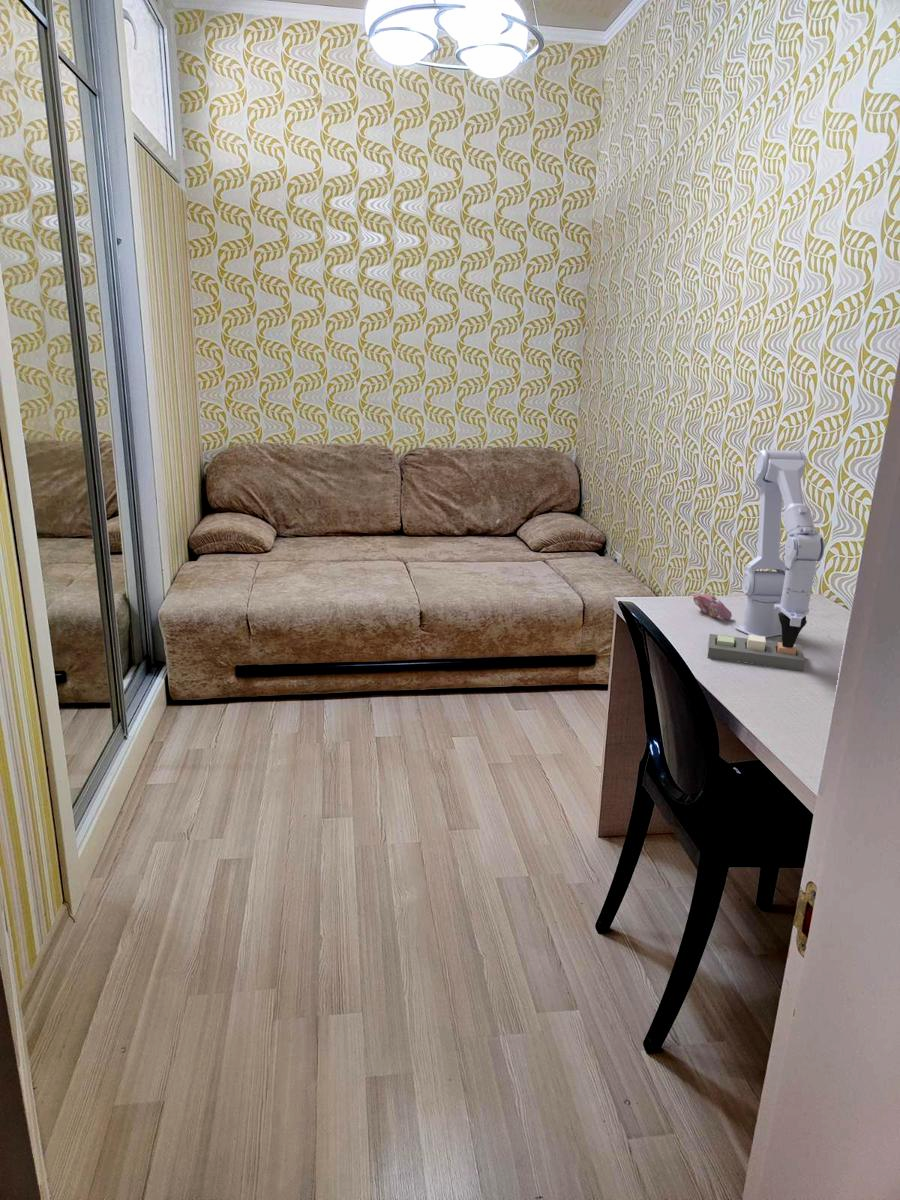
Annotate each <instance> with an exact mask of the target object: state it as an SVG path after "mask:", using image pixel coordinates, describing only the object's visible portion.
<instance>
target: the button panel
mask: <svg viewBox="0 0 900 1200" xmlns="http://www.w3.org/2000/svg"><path fill="white" fill-rule="evenodd" d="M718 635H719V634H713V633H709V637H708V644H707V645H708V646H707V647H708V648H707V659H714V660H722V661H727V660H729V662H735V661H740V662H739V663H742V662H747V663H746V664H749V663H753V664H752V665H756V664H759V665H758V666H764V665H766V667H771V666H773V667H772V668H779V669H780V668H781V669H786V670H795V671H801V672H804V669H805V664H806V659H805V653H804V650H803V645H801V644H795V645H796V649H797V651H796V655H789V654H782V653H776V652H777V647H778V642H776V641H770V640H766V644H765V650H764V651H759V650H752V649H747V648H746V646H747V640H748V638H746V637H745V638H744V637H738V636H733V637H734V647H729V646H721V645H716V644H717V637H718ZM720 635H721V636H724V634H723V635H722V634H720ZM727 636H728V635H727ZM728 637H732V636H730V635H729V636H728Z"/></svg>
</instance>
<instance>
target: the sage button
mask: <svg viewBox="0 0 900 1200" xmlns="http://www.w3.org/2000/svg"><path fill="white" fill-rule="evenodd" d="M717 635H718V637H717V644H716V645H721V646H729V647H734V637H735V636H731V637H728V635H723V636H721V635H722V634H717Z"/></svg>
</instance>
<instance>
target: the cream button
mask: <svg viewBox="0 0 900 1200" xmlns="http://www.w3.org/2000/svg"><path fill="white" fill-rule="evenodd" d="M747 639H748V640H747V646H746V648H747V649H752V650H759V651H764V650H765V644H766V641H767V640H766V638H765V637H764V636H756V635H748V634H747Z"/></svg>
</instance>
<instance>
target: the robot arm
mask: <svg viewBox="0 0 900 1200" xmlns="http://www.w3.org/2000/svg"><path fill="white" fill-rule="evenodd" d="M806 467H807V458H806V454H805V453H804V451H803V450H802V449H801V450H781V449H780V450H778V449H777V450H774V449H773V450H772V449H766V448H765V449H761V450H760V451H759V452H757V455H756V458H755V460H754V471H753V472H754V473H753V481H754V483H753V484H754V486H756V487H757V488H759V510H758V511H759V514H758V516H759V517H758V532H757V534H758V538H757V556H756V557H755V558H753V559H751V561H749V562H748V563H746V564H745V566H744V570H743V575H742V578H741V579H742V580H741V589H742V592H743V594H744V595H745V596H746V597H747V600H746V607H745V612H744V613H745V614H744V619H743V620H744V621H743V624H742V625H737V626H734V629H735V630H738V631H739V632H740V633H741V632H742V633H744V634H746V635H747V636H748V635H756V636H764V637H765V639H767V638H768V639H769V638H772V637H776V636H781V642H782V645H783V647H790V648H793V646H794V644H795V643H796V641H797V638H798V636H799V634H800V632H801V631H802V629H803V628H804V627H806V625H807V624H808V623H807V617H806V616H807V615H808V614H809V612H810V608H809V607H810V601H811V596H812V595H811V594H812V590H813V584H814V578H815V572H816V569H817V568H816V567H817V564H818V563H817V562H820V561H821V560H822V559H823V556H824V553H825V541H824V537H823V535H822V534H820V531H819V530H817V529H816V528H815V523H814V520H813V515H812V512H811V508H810V507H809V506H807V505H806V504H804V498H803V490H802V481H801V480H802V478H803V475H804V473H805V471H806ZM782 501H783V502H782ZM782 503H784V506H785V509H784V511H783V512H782ZM782 520H783V524H784V529H785V530H784V531H785V534H786V542H785V545H784V554H785V555H784V556H785V559H784V561H783V560H782V559H781V558H780V548H781V547H780V545H781V544H780V543H781V526H782V525H781V523H782ZM764 570H765V571H764ZM766 570H768V571H766ZM769 570H771V571H769ZM773 570H775V571H773ZM795 645H796V644H795Z"/></svg>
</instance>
